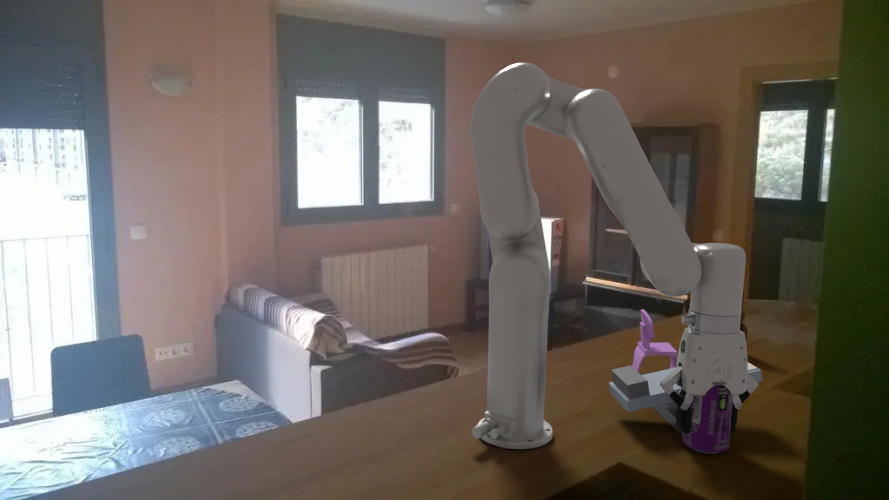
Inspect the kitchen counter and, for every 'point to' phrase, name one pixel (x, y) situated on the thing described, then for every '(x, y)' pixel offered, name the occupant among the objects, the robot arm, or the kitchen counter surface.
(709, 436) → the beverage can
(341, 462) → the kitchen counter surface
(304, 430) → the kitchen counter surface
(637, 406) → the plank
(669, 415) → the seesaw stand
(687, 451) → the kitchen counter surface
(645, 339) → the toy chair
